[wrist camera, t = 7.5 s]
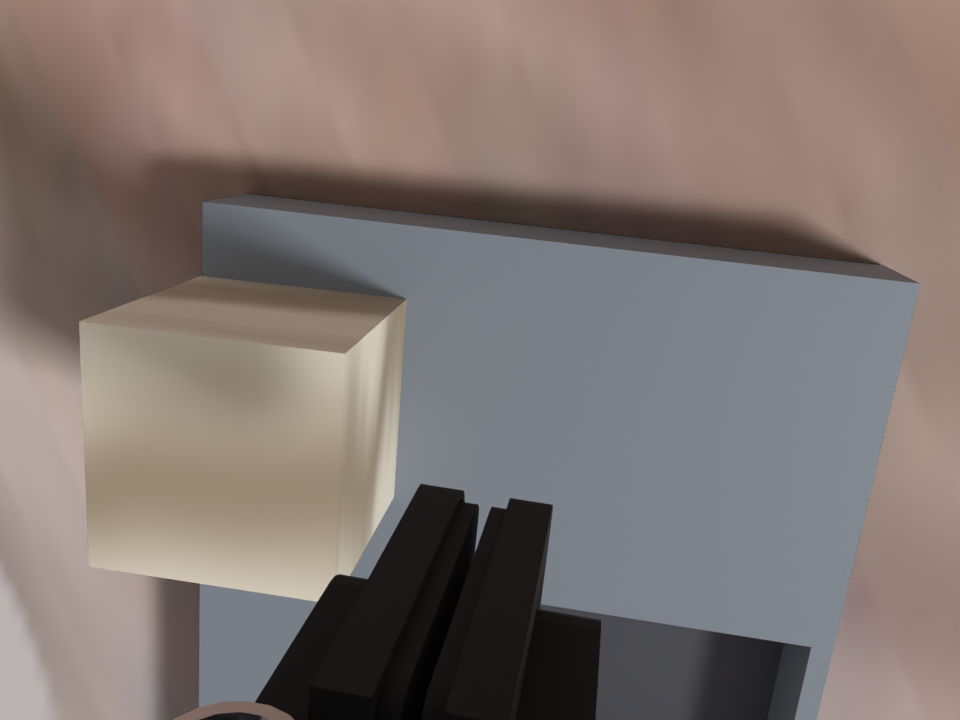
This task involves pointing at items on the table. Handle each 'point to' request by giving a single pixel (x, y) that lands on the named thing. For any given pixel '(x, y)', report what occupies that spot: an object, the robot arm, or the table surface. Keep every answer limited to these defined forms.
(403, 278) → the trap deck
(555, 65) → the table surface
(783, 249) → the table surface
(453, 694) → the robot arm
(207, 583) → the block
